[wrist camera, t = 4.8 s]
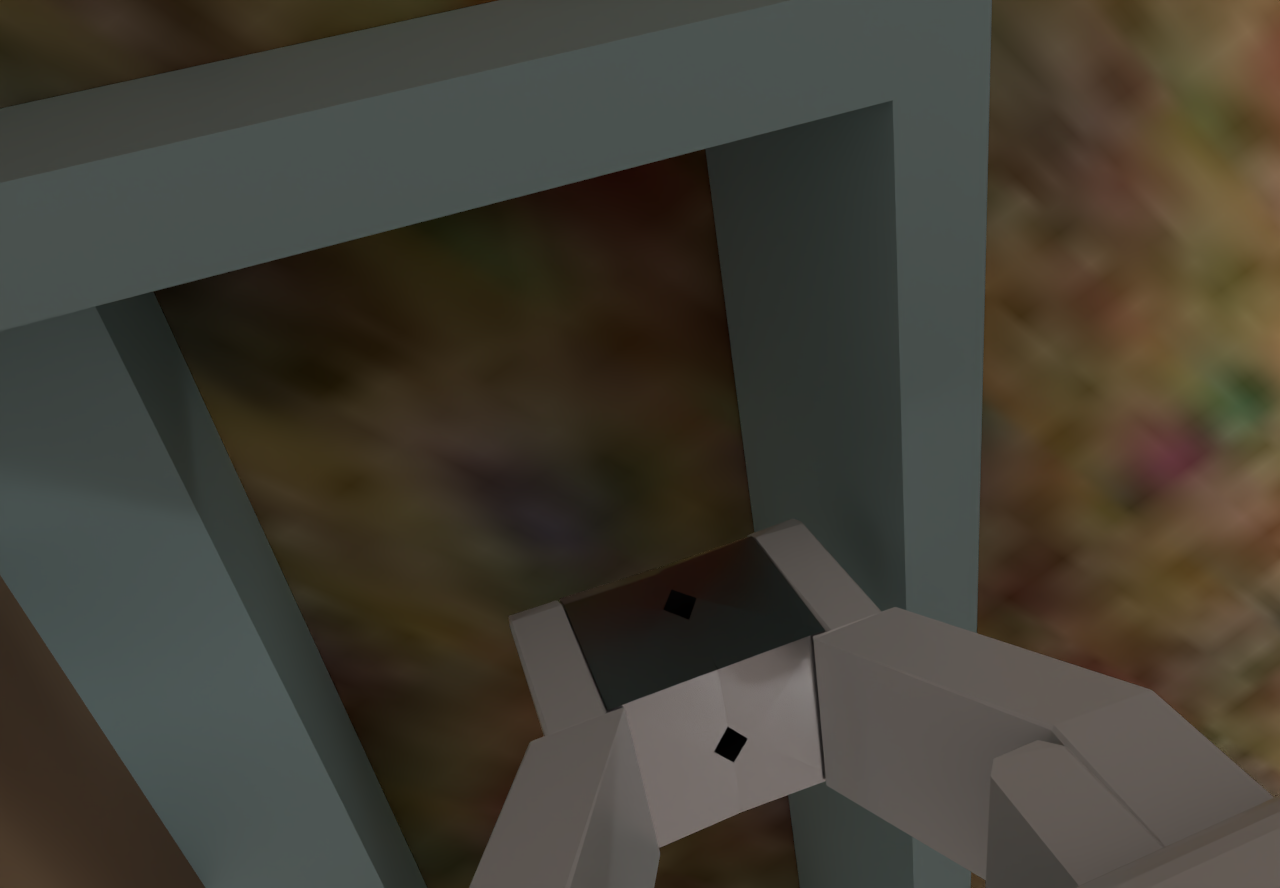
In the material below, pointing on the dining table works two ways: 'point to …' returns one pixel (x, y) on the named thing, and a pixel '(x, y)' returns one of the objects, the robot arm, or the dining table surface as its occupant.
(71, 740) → the block
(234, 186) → the tray
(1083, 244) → the dining table surface
